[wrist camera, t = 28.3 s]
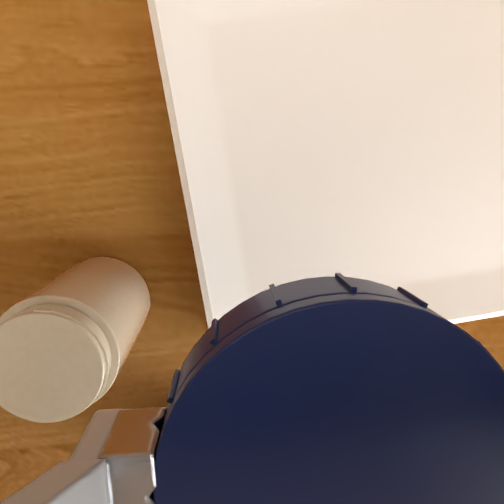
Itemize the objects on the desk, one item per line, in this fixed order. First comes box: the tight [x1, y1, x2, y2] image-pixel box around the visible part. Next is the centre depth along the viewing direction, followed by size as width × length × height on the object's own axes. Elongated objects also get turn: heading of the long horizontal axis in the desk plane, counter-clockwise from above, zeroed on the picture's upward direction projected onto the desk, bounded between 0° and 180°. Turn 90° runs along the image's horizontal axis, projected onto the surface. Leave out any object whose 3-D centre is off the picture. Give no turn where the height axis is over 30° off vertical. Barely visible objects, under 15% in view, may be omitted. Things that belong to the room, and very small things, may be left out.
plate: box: [147, 0, 504, 329], centre depth 27 cm, size 26×26×2 cm
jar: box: [0, 257, 150, 423], centre depth 24 cm, size 7×7×10 cm
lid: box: [154, 273, 504, 504], centre depth 8 cm, size 7×7×2 cm
